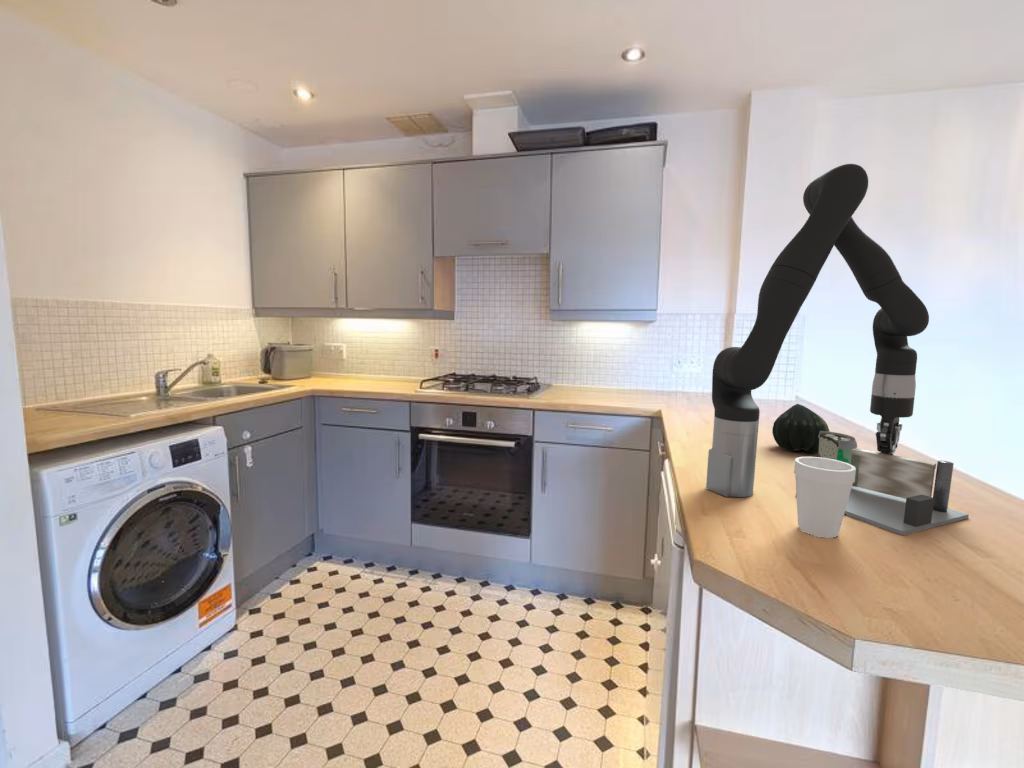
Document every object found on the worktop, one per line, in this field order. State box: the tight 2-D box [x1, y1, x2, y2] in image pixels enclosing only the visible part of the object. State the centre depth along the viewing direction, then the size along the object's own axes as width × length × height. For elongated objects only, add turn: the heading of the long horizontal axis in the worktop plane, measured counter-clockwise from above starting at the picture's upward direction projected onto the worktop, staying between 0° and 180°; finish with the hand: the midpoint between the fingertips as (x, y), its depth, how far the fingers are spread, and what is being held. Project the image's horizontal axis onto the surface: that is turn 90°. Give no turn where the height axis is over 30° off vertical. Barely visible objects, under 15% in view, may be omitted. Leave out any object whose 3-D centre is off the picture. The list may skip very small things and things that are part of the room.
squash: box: [771, 403, 831, 455], centre depth 146 cm, size 14×15×15 cm
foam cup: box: [793, 456, 856, 539], centre depth 87 cm, size 10×9×13 cm
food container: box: [817, 431, 858, 464], centre depth 123 cm, size 12×6×10 cm, turn 168°
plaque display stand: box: [844, 460, 970, 536], centre depth 100 cm, size 22×21×11 cm
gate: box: [851, 447, 937, 499], centre depth 103 cm, size 14×2×9 cm, turn 35°
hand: (885, 468), depth 107 cm, fingers closed
